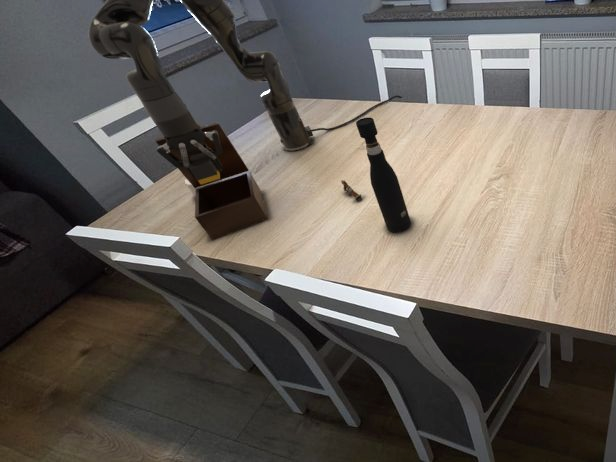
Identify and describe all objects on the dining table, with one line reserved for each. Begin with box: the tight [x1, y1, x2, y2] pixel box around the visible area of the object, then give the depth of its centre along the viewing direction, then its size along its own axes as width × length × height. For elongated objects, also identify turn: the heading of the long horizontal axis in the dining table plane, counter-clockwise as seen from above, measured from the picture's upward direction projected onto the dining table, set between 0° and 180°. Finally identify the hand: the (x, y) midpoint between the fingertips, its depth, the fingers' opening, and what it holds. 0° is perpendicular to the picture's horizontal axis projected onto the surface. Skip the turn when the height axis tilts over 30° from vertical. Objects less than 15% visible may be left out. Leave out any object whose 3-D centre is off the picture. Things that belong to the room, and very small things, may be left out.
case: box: [194, 170, 269, 240], centre depth 116 cm, size 17×15×8 cm
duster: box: [190, 152, 220, 184], centre depth 106 cm, size 5×8×5 cm, turn 30°
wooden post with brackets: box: [340, 179, 363, 202], centre depth 119 cm, size 2×8×4 cm, turn 49°
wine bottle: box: [355, 116, 412, 234], centre depth 97 cm, size 6×6×30 cm
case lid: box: [154, 122, 250, 188], centre depth 112 cm, size 18×15×5 cm
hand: (209, 173), depth 107 cm, fingers closed on duster, 4 cm apart
